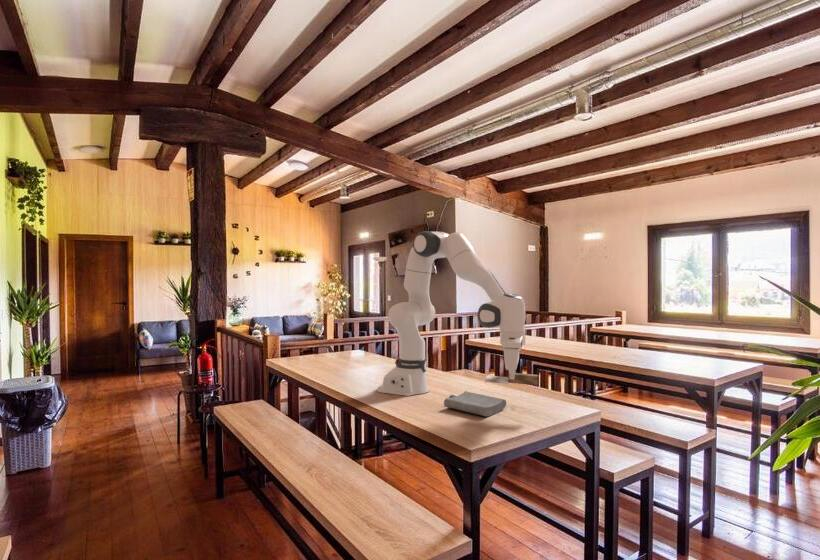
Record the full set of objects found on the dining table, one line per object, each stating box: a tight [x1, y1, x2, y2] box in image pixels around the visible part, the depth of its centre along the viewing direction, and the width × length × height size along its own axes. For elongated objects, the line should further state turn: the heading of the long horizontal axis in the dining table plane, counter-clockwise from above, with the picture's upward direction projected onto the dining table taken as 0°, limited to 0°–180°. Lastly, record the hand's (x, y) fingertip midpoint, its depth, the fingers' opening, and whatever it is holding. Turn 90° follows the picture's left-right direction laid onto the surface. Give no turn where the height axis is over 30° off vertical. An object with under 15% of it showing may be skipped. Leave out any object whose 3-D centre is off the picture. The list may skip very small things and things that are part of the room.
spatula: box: [484, 372, 538, 386], centre depth 165 cm, size 18×6×3 cm, turn 73°
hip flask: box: [443, 390, 507, 417], centre depth 174 cm, size 16×4×20 cm
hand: (512, 377), depth 165 cm, fingers closed on spatula, 2 cm apart
